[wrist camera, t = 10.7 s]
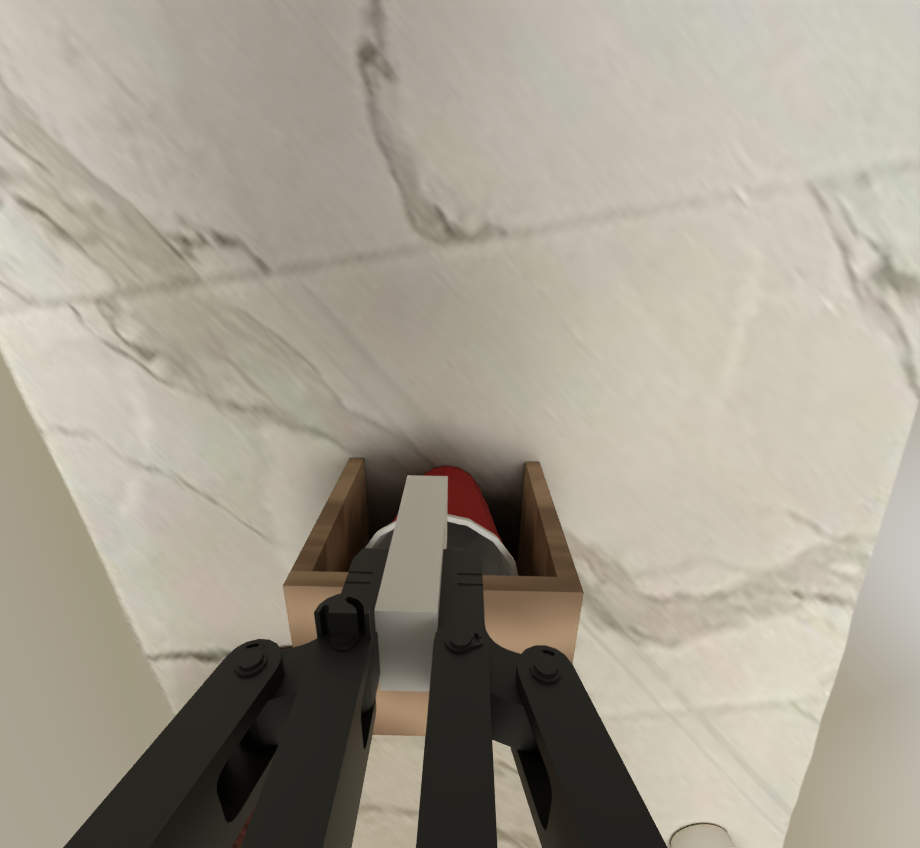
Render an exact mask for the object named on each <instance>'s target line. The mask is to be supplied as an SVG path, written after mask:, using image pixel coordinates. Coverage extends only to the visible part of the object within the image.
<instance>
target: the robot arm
mask: <svg viewBox="0 0 920 848" xmlns="http://www.w3.org/2000/svg"><path fill="white" fill-rule="evenodd" d="M447 500H448V476H417V475H407V479H406V483H405V487H404V491H403V495H402V500H401V504H400V508H399V512H398V516H397V520H396V524H395V528H394V532H393V536H392V541H391V545H390V549H376V548H363V549H362V550H361V551H360V552H359V553H358V554H357V555H356V556H355V557H354V558H353V560H352V563H351V566H350V569H349V573H348V575H347V577H346V580H345V584H344V586H343V589H342V592H341V594H336V595H334V596H331V597H329V598H327V599H326V600H324V601H323V602H322V603H320V604H319V605H318V607H317V608H316V610H315V611H314V618H315V625H316V632H317V638H316V639H314V640H313V641H311V642H309V643H306V644H303V645H300V646H296V647H292V648H288V649H284V650H281V649H280V648H279V646H278V644H277V643H275V642H273V641H271V640H266V639H257V640H253V641H249V642H246V643H244V644H242V645H240V646H239V647H237V648H235V649H234V650H233V651H232V652H231V653H230V654H229V655H227V657H226V658H225V659H224V660H223V661H222V662H221V664H220V665H219V666H218V667H217V668H216V669H215V671H214V672H213V673H212V674H211V675H210V676H209V678H208V679H207V680H206V681H205V682H204V683H203V685H202V686H201V687H200V688H199V689H198V690H197V692H196V693H195V694H194V695H193V696H192V698H191V699H190V700H189V701H188V702H187V703H186V705H185V706H184V707H183V708H182V709H181V710H180V712H179V713H178V714H177V715H176V716H175V717H174V719H173V720H172V721H171V722H170V723H169V724H168V726H167V727H166V728H165V729H164V730H163V731H162V733H161V734H160V735H159V736H158V737H157V739H156V740H155V741H154V742H153V744H152V745H151V746H150V747H149V748H148V749H147V750H146V751H145V753H144V754H143V755H142V756H141V758H139V760H138V761H137V762H136V763H135V764H134V765H133V767H132V768H131V769H130V770H129V771H128V773H127V774H126V775H125V776H124V777H123V778H122V780H121V781H120V782H119V783H118V784H117V785H116V787H115V788H114V789H113V790H112V791H111V792H110V794H109V795H108V796H107V797H106V798H105V799H104V801H103V802H102V803H101V804H100V805H99V806H98V808H97V809H96V810H95V811H94V812H93V814H92V815H91V816H90V817H89V818H88V819H87V820H86V822H85V823H84V824H83V825H82V826H81V828H80V829H79V830H78V831H77V832H76V833H75V835H74V836H73V837H72V838H71V840H69V842H68V843H67V844H66V845H65V846H64V847H63V848H231V846H232V845H233V843H234V841H235V840H236V838H237V836H238V834H239V833H240V831H241V829H242V828H243V826H244V824H245V822H246V821H247V819H248V817H249V815H250V814H251V812H252V810H253V809H254V807H255V805H256V807H255V810H254V813H253V815H252V818H251V821H250V824H249V826H248V829H247V832H246V835H245V837H244V840H243V843H242V845H241V848H351V847H352V841H353V836H354V830H355V825H356V820H357V814H358V809H359V803H360V798H361V793H362V787H363V782H364V776H365V771H366V766H367V760H368V755H369V749H370V744H371V739H372V733H373V728H374V722H375V717H376V693H377V688H378V683H379V686H380V691H416V692H429V701H428V713H427V725H426V737H425V748H424V760H423V772H422V784H421V796H420V808H419V820H418V832H417V844H416V848H497V832H496V811H495V790H494V769H493V748H492V740H495V741H497V742H500V743H502V744H505V745H507V746H510V747H511V751H512V754H513V757H514V760H515V763H516V767H517V770H518V773H519V776H520V779H521V782H522V786H523V789H524V792H525V795H526V798H527V801H528V805H529V808H530V811H531V814H532V817H533V820H534V824H535V827H536V830H537V833H538V836H539V839H540V843H541V846H542V848H667V846H666V844H665V842H664V840H663V838H662V836H661V834H660V832H659V830H658V828H657V827H656V825H655V823H654V821H653V819H652V817H651V815H650V813H649V811H648V809H647V807H646V805H645V803H644V801H643V800H642V798H641V796H640V794H639V792H638V790H637V788H636V786H635V784H634V782H633V780H632V778H631V776H630V774H629V773H628V771H627V769H626V767H625V765H624V763H623V761H622V759H621V757H620V755H619V753H618V751H617V749H616V747H615V746H614V744H613V742H612V740H611V738H610V736H609V734H608V732H607V730H606V728H605V726H604V724H603V722H602V720H601V719H600V717H599V715H598V713H597V711H596V709H595V707H594V705H593V703H592V701H591V699H590V697H589V695H588V693H587V692H586V690H585V688H584V686H583V684H582V682H581V680H580V678H579V676H578V674H577V672H576V670H575V668H574V666H573V665H572V663H571V662H570V660H569V659H568V658H567V656H566V655H565V654H563V653H562V652H560V651H559V650H557V649H556V648H552V647H549V646H546V645H535V646H532V647H530V648H527V649H525V650H524V651H523V652H522V653H521V654H520V653H517V652H514V651H511V650H508V649H506V648H503V647H501V646H500V645H498V644H497V643H495V642H494V641H493V640H492V639H491V637H490V636H489V634H488V633H487V631H486V627H485V616H484V594H483V576H482V574H483V573H482V560H481V559H480V557H479V556H478V554H477V553H476V551H475V550H457V549H446V546H447ZM256 803H257V804H256Z"/></svg>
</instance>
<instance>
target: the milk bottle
mask: <svg viewBox="0 0 920 848" xmlns="http://www.w3.org/2000/svg"><path fill="white" fill-rule="evenodd" d="M671 848H735V847H734V845H733V843H732V841H731V839H730V837H729V835H728V834H727V833H726V832H725V831H724V830H723V829H722V828H720V827H718V826H715V825H709V824H699V825H693V826H689V827H687V828H684V829H682V830H680V831H679V832H677V833H676V834H675V835H674V836H673V838H672V840H671Z"/></svg>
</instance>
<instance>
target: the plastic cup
mask: <svg viewBox="0 0 920 848" xmlns="http://www.w3.org/2000/svg"><path fill="white" fill-rule="evenodd" d="M423 476H448V500H447V546H446V549H457V550H475V551H476V553H477V554H478V556H479V557H480V559H481V560H482V573H483V574H482V575H496V576H518V573H517V568H516V563H515V561H514V559H513V557H512V556H511V554H510V553H509V552H508V550H507V549H506V548H505V546H504V545H503V543H502V540H501V537H500V536H499V535H498V532H497V530H496V527H495V524H494V522H493V519H492V516H491V514H490V511H489V508H488V505H487V503H486V500H485V499H484V498H483V496H482V493H481V490H480V488H479V486H478V484H477V483H476V482H475V480H474V479H473V478H472V476H471V475H470V474H468V473H467V472H465V471H463V470H462V469H460V468H456V467H451V466H443V467H437V468H433V469H432V470H430V471H428V472H427V473H425V474H424V475H423ZM397 516H398V514H397V515H396V517H395V519H394V520H393V522H392V523H390V524H389V525H387V526H385V527H383V528H382V529H380V530H378V531H377V532H376V533H375V535H374V536H373V537H372V539H371V540H370V542H369V543H368V544H367V546H366V547H365V548H376V549H390V545H391V541H392V536H393V532H394V528H395V524H396V520H397Z"/></svg>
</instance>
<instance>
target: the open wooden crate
mask: <svg viewBox="0 0 920 848" xmlns="http://www.w3.org/2000/svg"><path fill="white" fill-rule="evenodd" d="M368 543H369V529H368V514H367V499H366V483H365V468H364V458H350V459H349V461H348V463H347V464H346V466H345V468H344V470H343V472H342V474H341V476H340V478H339V480H338V482H337V484H336V485H335V487H334V489H333V491H332V493H331V495H330V497H329V499H328V501H327V503H326V505H325V506H324V508H323V510H322V512H321V514H320V516H319V518H318V520H317V522H316V524H315V526H314V527H313V529H312V531H311V533H310V535H309V537H308V539H307V541H306V543H305V545H304V547H303V549H302V550H301V552H300V554H299V556H298V558H297V560H296V562H295V564H294V566H293V568H292V570H291V571H290V573H289V575H288V577H287V579H286V581H285V583H284V585H283V589H284V595H285V601H286V608H287V614H288V620H289V627H290V633H291V639H292V646H293V647H296V646H300V645H303V644H306V643H309V642H311V641H313V640H314V639H316V638H317V632H316V625H315V618H314V611H315V610H316V608H317V607H318V605H319V604H320V603H322V602H323V601H324V600H326V599H327V598H329V597H331V596H334V595H336V594H341V592H342V589H343V586H344V584H345V580H346V577H347V575H348V573H349V569H350V566H351V563H352V560H353V558H354V557H355V556H356V555H357V554H358V553H359V552H360V551H361V550H362V549H363V548H365V547H366V546H367V544H368ZM516 568H517V573H518V576H496V575H482V576H483V594H484V616H485V627H486V631H487V633H488V634H489V636H490V637H491V639H492V640H493V641H494V642H495V643H497V644H498V645H500V646H501V647H503V648H506V649H508V650H511V651H514V652H517V653H520V654H521V653H522V652H523V651H524V650H525V649H527V648H530V647H532V646H535V645H546V646H549V647H552V648H556V649H557V650H559V651H560V652H562V653H563V654H565V655H566V656H567V658H568V659H569V660H570V662H571V663H573V657H574V651H575V644H576V638H577V631H578V625H579V619H580V612H581V606H582V599H583V593H584V592H583V589H582V586H581V583H580V580H579V577H578V575H577V572H576V569H575V566H574V563H573V560H572V557H571V554H570V551H569V548H568V545H567V542H566V539H565V536H564V533H563V530H562V527H561V524H560V521H559V518H558V515H557V512H556V510H555V507H554V504H553V501H552V498H551V495H550V492H549V489H548V486H547V483H546V480H545V477H544V474H543V471H542V468H541V465H540V462H526V463H525V474H524V486H523V498H522V510H521V522H520V534H519V546H518V558H517V563H516ZM428 701H429V692H416V691H380V686H379V683H378V688H377V693H376V717H375V722H374V728H373V733H372V735H405V736H426V725H427V713H428Z"/></svg>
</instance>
